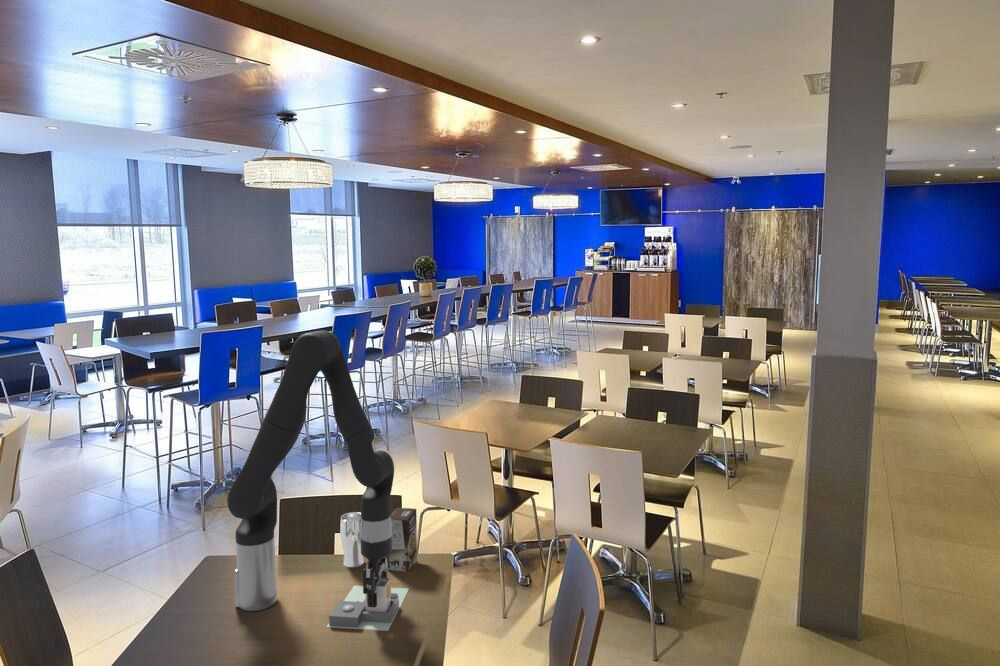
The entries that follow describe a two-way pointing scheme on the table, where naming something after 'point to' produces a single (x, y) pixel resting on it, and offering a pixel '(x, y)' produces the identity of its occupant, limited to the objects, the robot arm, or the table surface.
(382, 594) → the plug
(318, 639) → the table surface
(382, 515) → the robot arm
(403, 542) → the coffee box
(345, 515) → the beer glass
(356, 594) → the board
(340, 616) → the grey button block
